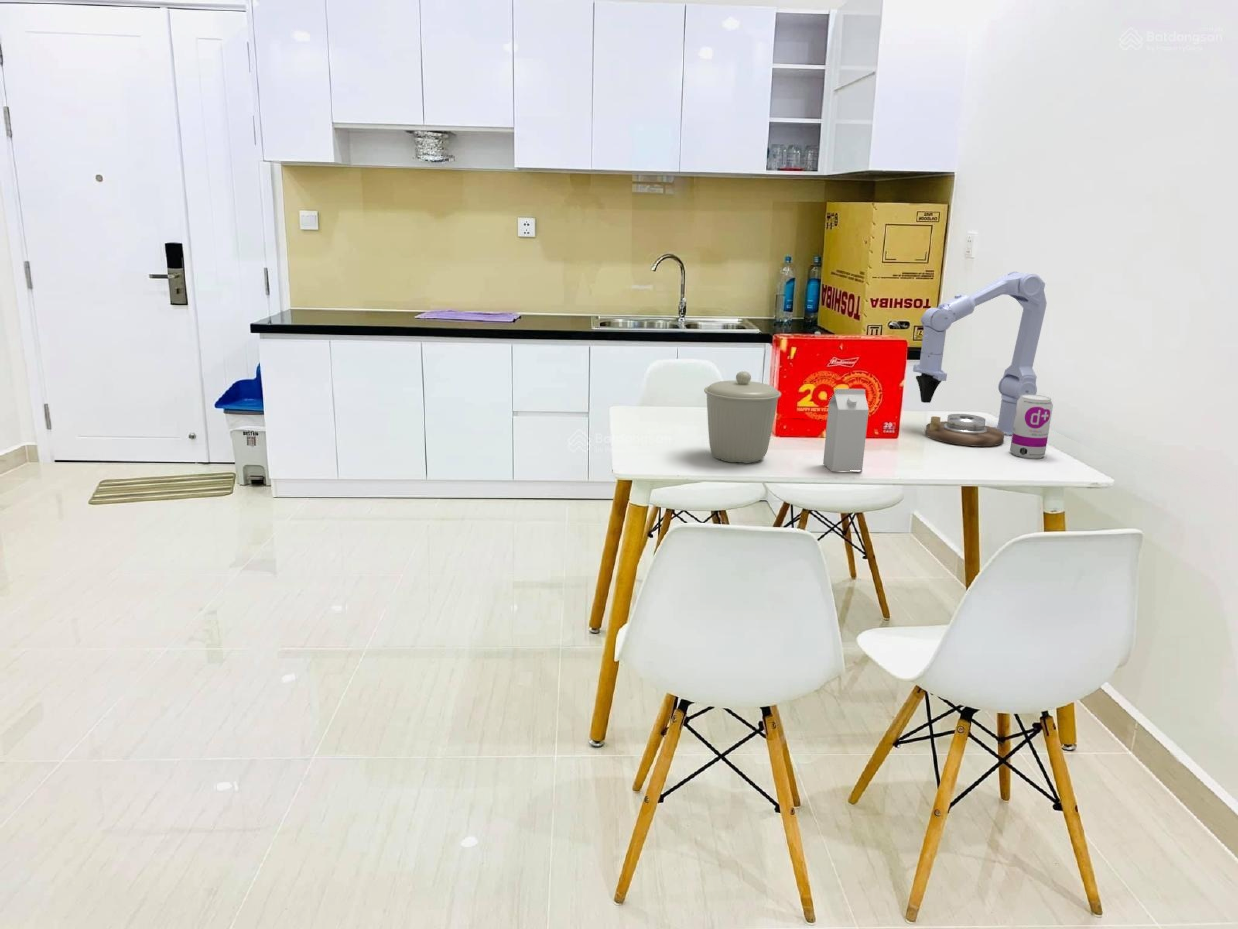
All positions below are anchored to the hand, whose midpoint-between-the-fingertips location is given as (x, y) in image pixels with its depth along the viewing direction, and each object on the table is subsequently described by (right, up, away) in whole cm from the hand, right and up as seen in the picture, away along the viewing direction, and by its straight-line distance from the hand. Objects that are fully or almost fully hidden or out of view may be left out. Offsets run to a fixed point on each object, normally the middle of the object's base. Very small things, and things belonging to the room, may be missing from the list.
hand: (925, 402), depth 250 cm
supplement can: (+19, -15, -18) cm, 31 cm away
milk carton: (-32, -18, -37) cm, 52 cm away
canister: (-56, -16, -30) cm, 65 cm away
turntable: (+9, -10, -3) cm, 14 cm away
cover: (+9, -8, -4) cm, 13 cm away
